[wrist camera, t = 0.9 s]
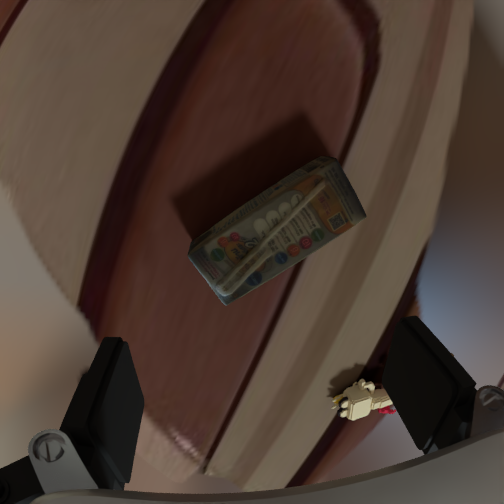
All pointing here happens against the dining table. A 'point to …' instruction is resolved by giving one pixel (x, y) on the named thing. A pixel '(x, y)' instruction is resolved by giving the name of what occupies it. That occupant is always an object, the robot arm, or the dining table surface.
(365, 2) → the dining table surface
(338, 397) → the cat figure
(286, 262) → the beverage carton
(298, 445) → the dining table surface
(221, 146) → the dining table surface
